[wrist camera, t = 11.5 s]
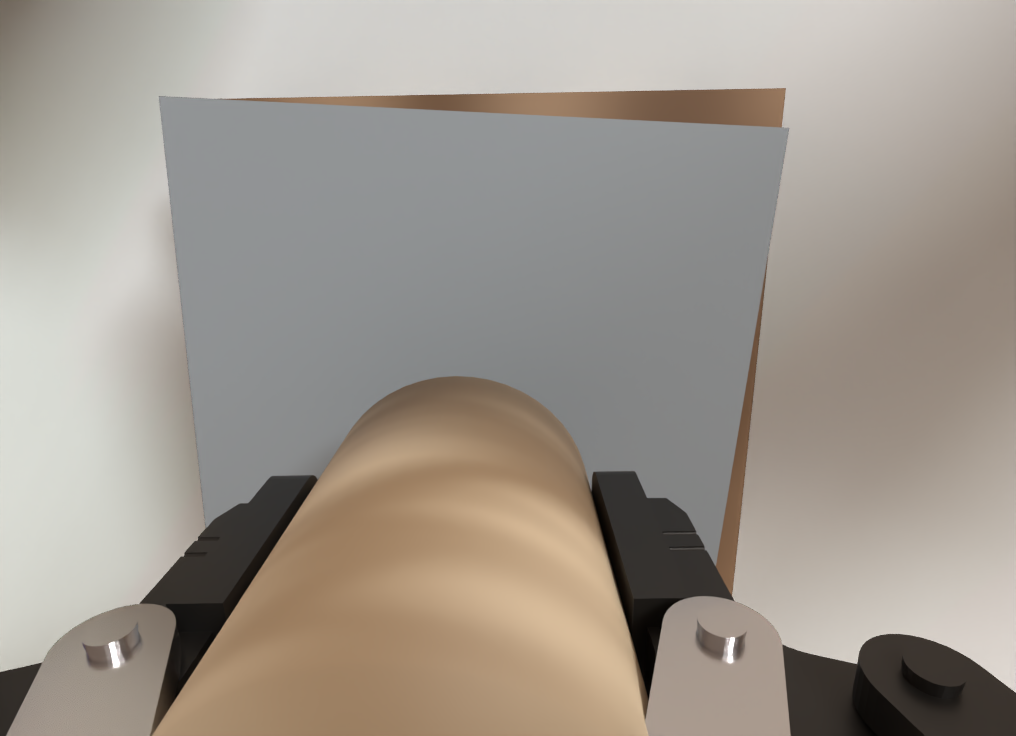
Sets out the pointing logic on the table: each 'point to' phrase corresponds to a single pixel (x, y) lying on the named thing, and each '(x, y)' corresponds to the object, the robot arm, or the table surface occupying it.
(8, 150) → the table surface
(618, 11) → the table surface
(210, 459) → the slate slab
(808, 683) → the robot arm
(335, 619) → the wooden dowel
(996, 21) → the table surface
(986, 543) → the table surface
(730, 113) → the walnut slab
